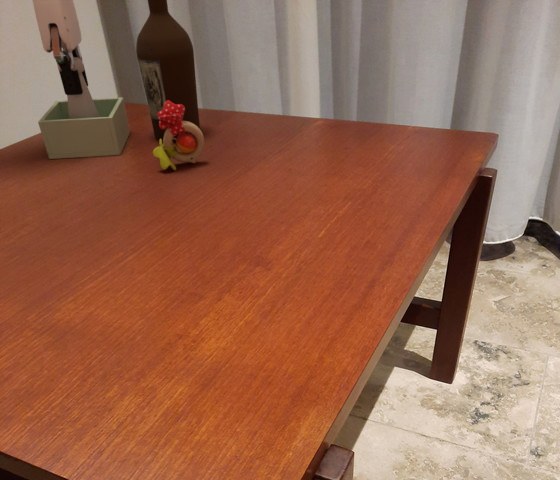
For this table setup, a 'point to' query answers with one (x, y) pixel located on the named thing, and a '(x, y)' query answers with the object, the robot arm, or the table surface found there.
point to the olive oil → (167, 66)
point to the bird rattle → (186, 141)
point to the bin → (85, 130)
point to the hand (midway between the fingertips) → (77, 89)
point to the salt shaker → (81, 98)
